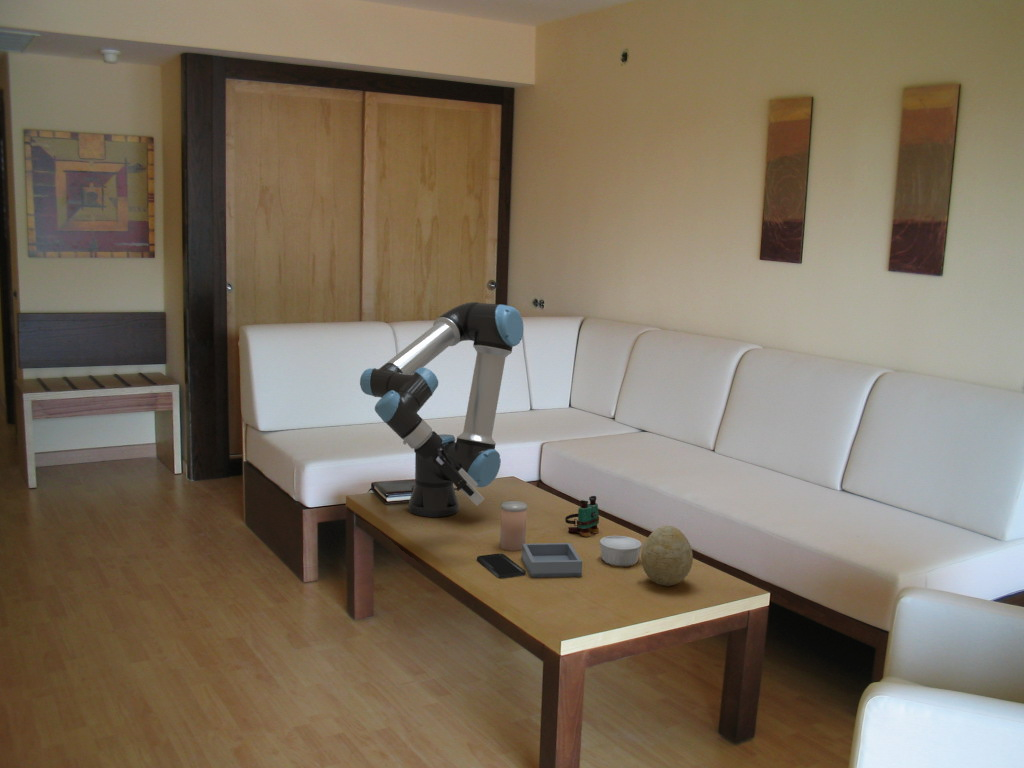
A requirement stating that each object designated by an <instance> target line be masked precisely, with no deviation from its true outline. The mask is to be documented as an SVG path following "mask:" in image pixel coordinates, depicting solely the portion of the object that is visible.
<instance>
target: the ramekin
mask: <svg viewBox="0 0 1024 768" xmlns="http://www.w3.org/2000/svg"><path fill="white" fill-rule="evenodd" d="M599 546H600V555H601V560H604V561H605V562H604V561H603V562H604V563H606V564H608V563H609V564H608V565H611V564H612V565H611V566H615V565H617V566H616V567H629V565H631V566H633V564H634V565H635V564H637V562H638V560H639V558H640V557H639V556H640V552H641V550H642V548H643V545H642V542H641V541H640V540H639V539H637V538H634V537H632V536H631V537H630V536H623V535H608V536H604V537H602V538H601V539H600V540H599Z"/></svg>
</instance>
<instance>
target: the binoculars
mask: <svg viewBox="0 0 1024 768" xmlns="http://www.w3.org/2000/svg"><path fill="white" fill-rule="evenodd" d="M596 501H597V496H596V495H591V496H589V498H588V500H584V499H581V500H580V504H581V506H580V507H578V510H577V513H572V514H570V515H567V516H565V518H564V519H565V521H564V522H565V523H566V524H570V525H573V526H569V527H567V529H568V532H569V533H580V535H581V536H583V537H587V538H588V537H591V533H593V534H598V533H599V531H600V530H599V527H598V524H599V523H600V516H599V507H598V503H597V502H596ZM576 518H577V519H576ZM570 519H573V520H570Z"/></svg>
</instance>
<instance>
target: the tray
mask: <svg viewBox="0 0 1024 768" xmlns="http://www.w3.org/2000/svg"><path fill="white" fill-rule="evenodd" d="M521 559H522V562H523V564H524V565H525V568H526V570H527V572H528V574H529V576H530V578H531V579H533V578H575V577H576V578H577V577H578V578H579V577H581V578H582V575H583V573H582V572H583V560H582V559H581V557H580V556H579V554H578V552H577V550H576V549H575V548H574V546H573V545H572V543H571V542H553V543H552V542H551V543H550V542H548V543H547V542H543V543H542V542H541V543H536V542H535V543H525V544H522V550H521Z"/></svg>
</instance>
